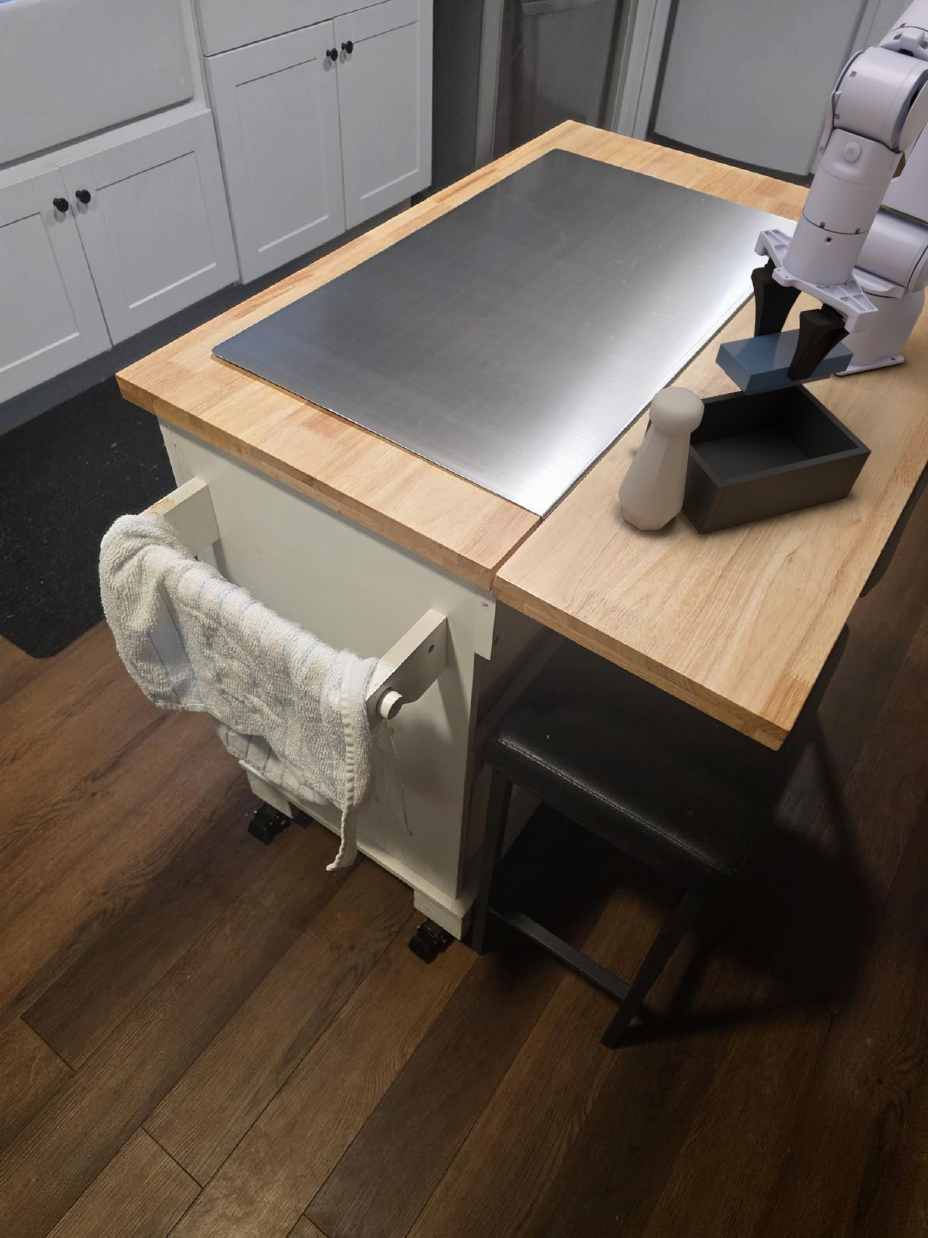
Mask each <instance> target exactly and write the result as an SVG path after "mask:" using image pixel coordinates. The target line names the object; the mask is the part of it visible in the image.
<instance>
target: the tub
mask: <svg viewBox="0 0 928 1238" xmlns="http://www.w3.org/2000/svg"><path fill="white" fill-rule="evenodd" d="M700 399H701V400H702V402H703V404H704V412H703V416H702V420H701V422H700V424H699V426H698V427H697V428H696V429H695V430H694V431H692V432H691V433H690V443H689V453H688V463H687V473H686V483H685V493H684V500H683V504H682V508H681V511H682V512H683V514H684V515H685V516H686V517H687V519H688V520H689V521H690V523H691V524H692V525H693V526H694V527H695V528H696V530H697V531H698V532H699V533H700V535H705V534H708V533H711V532H715V531H716V532H717V531H719V530H723V529H728V528H731V527H735V526H739V525H742V524H747V523H750V522H755V521H759V520H762V519H765V518H770V517H775V516H778V515H783V514H785V513H789V512H793V511H797V510H801V509H805V508H809V507H813V506H817V505H820V504H824V503H828V502H832V501H836V500H837V501H838V500H841V499H845V498H847V497H848V496H849V494H850V493H851V491H852V489H853V488H854V485H855V483H856V481H857V480H858V478H859V476H860V474H861V472H862V471H863V468H864V466H865V465H866V463H867V461H868V459H869V457H870V455H871V454H872V452H873V451H872V450H871V449H870V448H869V447H868V446H867V445H866V444H865V443H864V441H862V440H861V439H860V438H859V437H858V436H857V435H856V434H854V432H852V430H850V429H849V427H847V426H846V425H845V424H844V423H843V422H842V421H841V420H840V419H839V418H838V417H837V416H836V415H835V414H834V413H832V411H831V410H829V409H828V407H826V406H825V405H824V404H823V403H822V402H821V401H820V400H819V399H818V398H817V397H816V396H815V395H814V394H813V393H812V392H811V391H810V390H809V389H808V388H807V387H806V386H805V385H804V384H801V385H796V386H791V387H787V388H782V389H777V390H773V391H768V392H763V393H758V394H754V395H749V396H747V395H746V394H745V393H744V392H743V391H742V390H737V391H733V392H728V393H722V394H718V395H713V396H708V397H704V398H703V397H702V398H700ZM651 424H652V422H651V419H650V417H649V418H648V422H647V425H646V429H645V433H644V436H643V438H644V437H645V435H646V433H647V431H648V430H649V428H650V426H651Z"/></svg>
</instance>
